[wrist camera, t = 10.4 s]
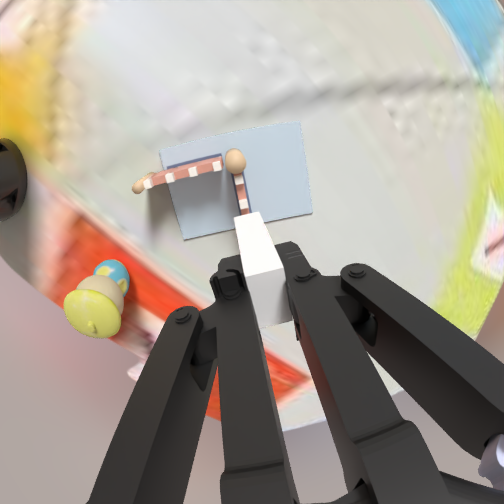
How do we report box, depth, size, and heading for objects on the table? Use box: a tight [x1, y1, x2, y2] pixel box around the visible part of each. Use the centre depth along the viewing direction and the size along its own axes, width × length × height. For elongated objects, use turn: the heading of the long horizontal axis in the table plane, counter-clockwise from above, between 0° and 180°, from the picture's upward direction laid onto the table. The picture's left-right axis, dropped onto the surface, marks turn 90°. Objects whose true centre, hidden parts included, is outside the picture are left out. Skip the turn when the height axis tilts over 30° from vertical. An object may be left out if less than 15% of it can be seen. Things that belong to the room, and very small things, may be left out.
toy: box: [64, 260, 130, 338], centre depth 36 cm, size 8×9×15 cm
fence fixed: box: [132, 148, 246, 194], centre depth 34 cm, size 14×2×8 cm, turn 101°
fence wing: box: [234, 172, 250, 215], centre depth 37 cm, size 10×1×6 cm, turn 10°
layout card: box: [159, 121, 313, 240], centre depth 38 cm, size 20×14×1 cm
